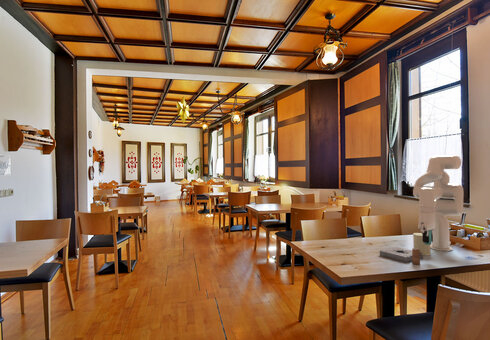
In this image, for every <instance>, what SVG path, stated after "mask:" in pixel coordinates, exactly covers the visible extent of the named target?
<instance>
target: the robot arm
mask: <svg viewBox="0 0 490 340" xmlns="http://www.w3.org/2000/svg"><path fill="white" fill-rule="evenodd" d="M461 165H462V159H461V157H460V156H458V155H452V154H451V155H434V156H432V157H430V158H429V160H428V165H427V167H426V173H424V174H422V175H421V176H419V177H418V178H417V179H416V181H415V182H414V187H413V189H412V195H413V197H414V198H415V199H418V200H419V201H418V204H419V205H418V206H419V207H418V209H419V210H418V211H419V213H418V221H417V225H418V227H417V229H418V230H420V232H419V233H422V237H423V242H425V243H429V236H428V230H431V245H430V250H431V249H432V250H436V251H442V252H450V251H453V247H451V246H450V245H451V243H452V241H450V221H449V219H448V218H447V216H454V217H456V216H457V217H458V216H459V217H460V216H461V215H462V214H463V213H464V187H463V186H462V185H461V184H460V183H459V184H458V183H451V182H450V175H449V174H448V173H447V172H446V171H445V170H458V169H460V168H461ZM432 183H433V185H432V186H430V185H428V184H432ZM452 199H453V200H452ZM424 229H425V230H424ZM425 231H426V232H425Z"/></svg>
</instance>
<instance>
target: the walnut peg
mask: <svg viewBox="0 0 490 340" xmlns="http://www.w3.org/2000/svg"><path fill="white" fill-rule="evenodd" d="M411 250H412V261H411V263H412V265H415V266H420V265H421V258H420V249H416V248H414V247H413V248H412V249H411Z"/></svg>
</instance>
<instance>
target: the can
mask: <svg viewBox="0 0 490 340" xmlns="http://www.w3.org/2000/svg"><path fill="white" fill-rule="evenodd" d="M412 234H413V235H412V237H413V245H412V246H413V248H416V249H420V252H421V253H422V256H431V248H430V245H426V244H424V242H423V237H422V233H421V232H413V233H412Z"/></svg>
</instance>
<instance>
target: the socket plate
mask: <svg viewBox="0 0 490 340" xmlns="http://www.w3.org/2000/svg"><path fill="white" fill-rule="evenodd" d="M379 257H383V258H387V259H391V260H395V261H398V262H403V263H406V264H407V263H410V262H411V263H412V249H407V248H402V247H397V246H392V247H388V248H385V249H381V250H379ZM422 258H423V255H422V253H421V252H420V259H422Z"/></svg>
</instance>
